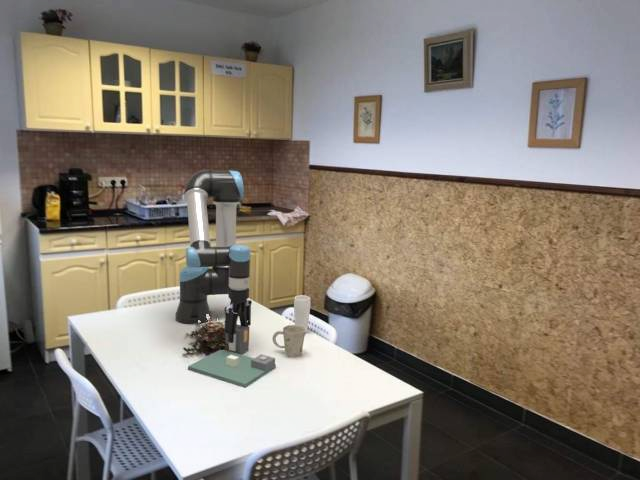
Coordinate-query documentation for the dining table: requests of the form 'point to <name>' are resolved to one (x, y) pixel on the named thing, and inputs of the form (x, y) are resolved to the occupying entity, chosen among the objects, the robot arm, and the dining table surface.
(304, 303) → the drinking glass
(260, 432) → the dining table surface
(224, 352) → the board
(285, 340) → the mug
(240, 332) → the dark gray box
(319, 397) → the dining table surface
